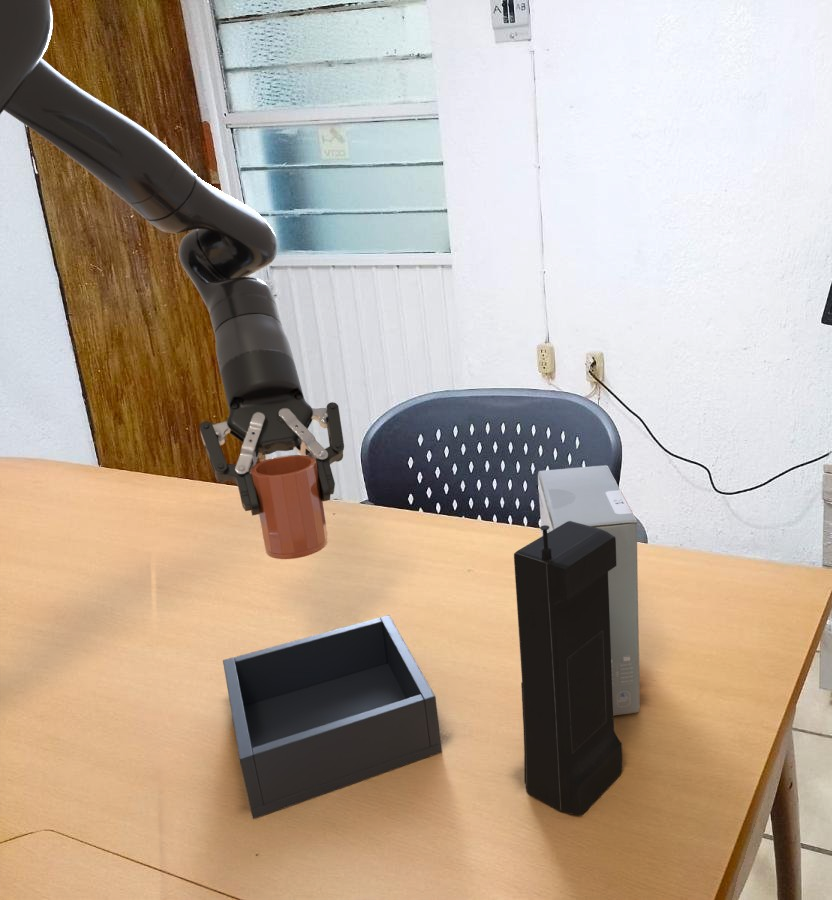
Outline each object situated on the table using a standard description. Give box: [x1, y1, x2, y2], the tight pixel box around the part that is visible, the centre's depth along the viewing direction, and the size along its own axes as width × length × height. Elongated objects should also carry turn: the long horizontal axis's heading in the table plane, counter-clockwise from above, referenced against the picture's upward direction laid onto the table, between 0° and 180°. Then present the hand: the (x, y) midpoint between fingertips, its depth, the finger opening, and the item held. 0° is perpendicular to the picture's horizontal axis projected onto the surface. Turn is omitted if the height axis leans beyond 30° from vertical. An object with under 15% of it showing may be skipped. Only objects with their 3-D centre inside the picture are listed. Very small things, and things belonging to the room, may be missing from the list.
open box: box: [222, 614, 443, 820], centre depth 77 cm, size 16×16×6 cm
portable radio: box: [513, 521, 623, 816], centre depth 66 cm, size 8×6×25 cm
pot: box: [250, 454, 329, 560], centre depth 85 cm, size 6×6×9 cm
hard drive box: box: [537, 465, 641, 717], centre depth 82 cm, size 16×8×20 cm, turn 9°
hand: (292, 504), depth 83 cm, fingers closed on pot, 6 cm apart
